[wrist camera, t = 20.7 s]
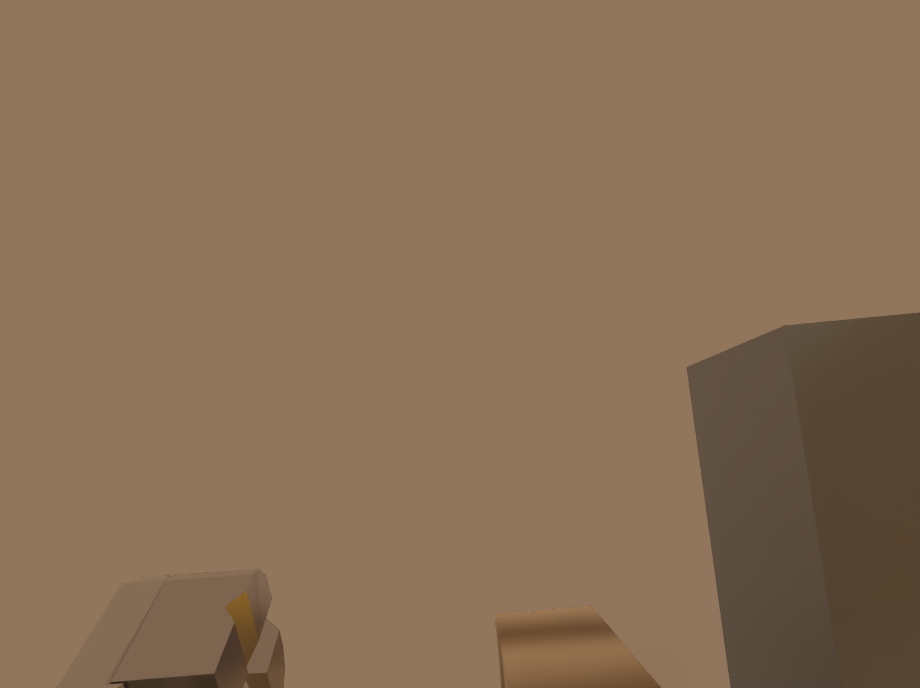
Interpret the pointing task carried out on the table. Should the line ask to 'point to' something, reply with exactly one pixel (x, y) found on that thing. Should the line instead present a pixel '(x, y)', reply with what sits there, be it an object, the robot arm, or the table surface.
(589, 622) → the beech bar
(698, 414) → the pedestal
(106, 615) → the robot arm
